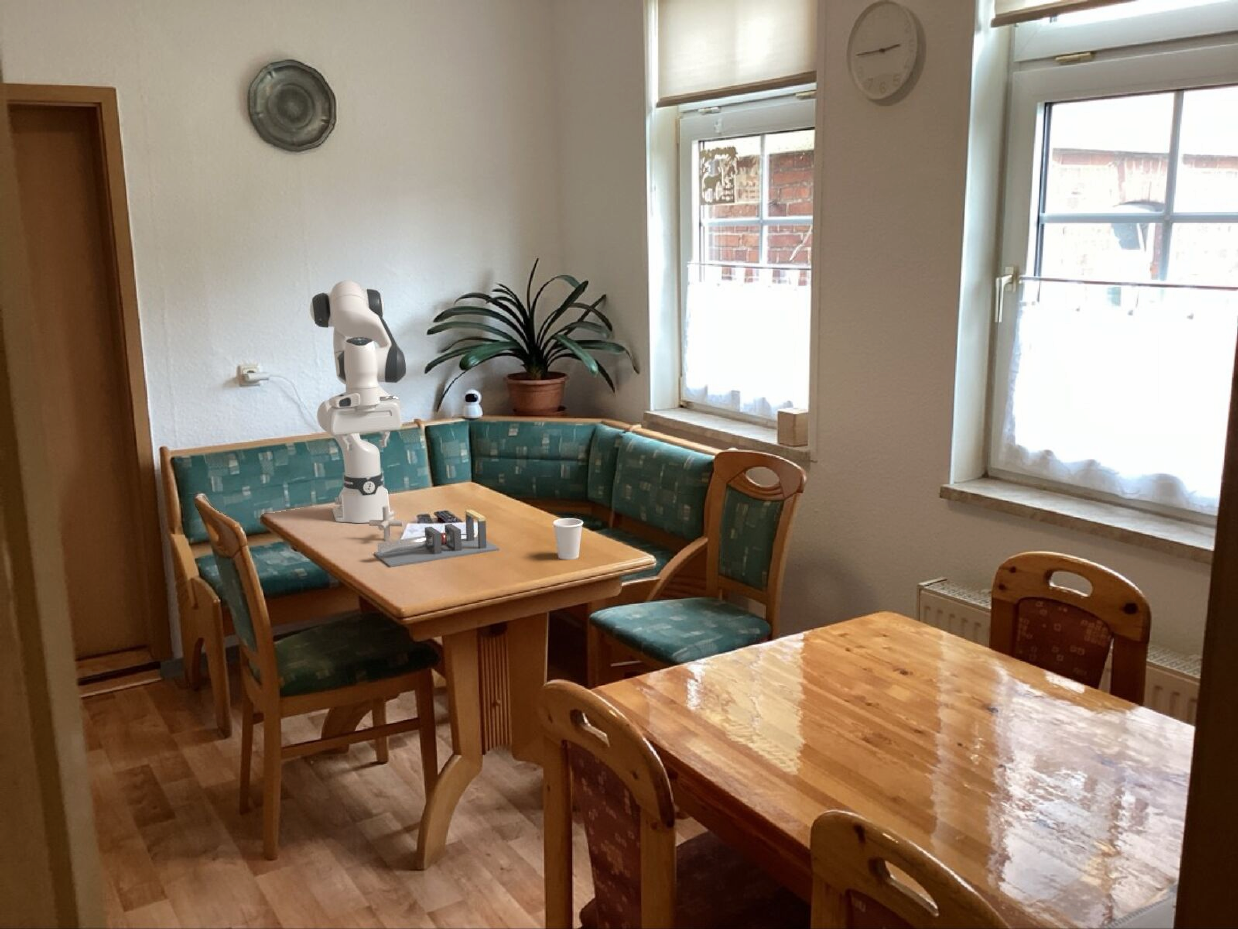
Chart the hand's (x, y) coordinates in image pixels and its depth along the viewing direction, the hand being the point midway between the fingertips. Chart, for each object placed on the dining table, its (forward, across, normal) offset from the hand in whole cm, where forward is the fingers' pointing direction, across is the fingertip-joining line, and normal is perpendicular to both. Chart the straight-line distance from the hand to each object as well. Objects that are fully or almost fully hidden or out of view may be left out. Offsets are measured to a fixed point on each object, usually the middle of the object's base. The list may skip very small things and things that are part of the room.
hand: (366, 448), depth 291 cm
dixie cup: (+32, -47, +26) cm, 63 cm away
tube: (+29, -11, +3) cm, 31 cm away
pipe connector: (+30, -10, -17) cm, 36 cm away
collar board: (+31, -18, +3) cm, 36 cm away
